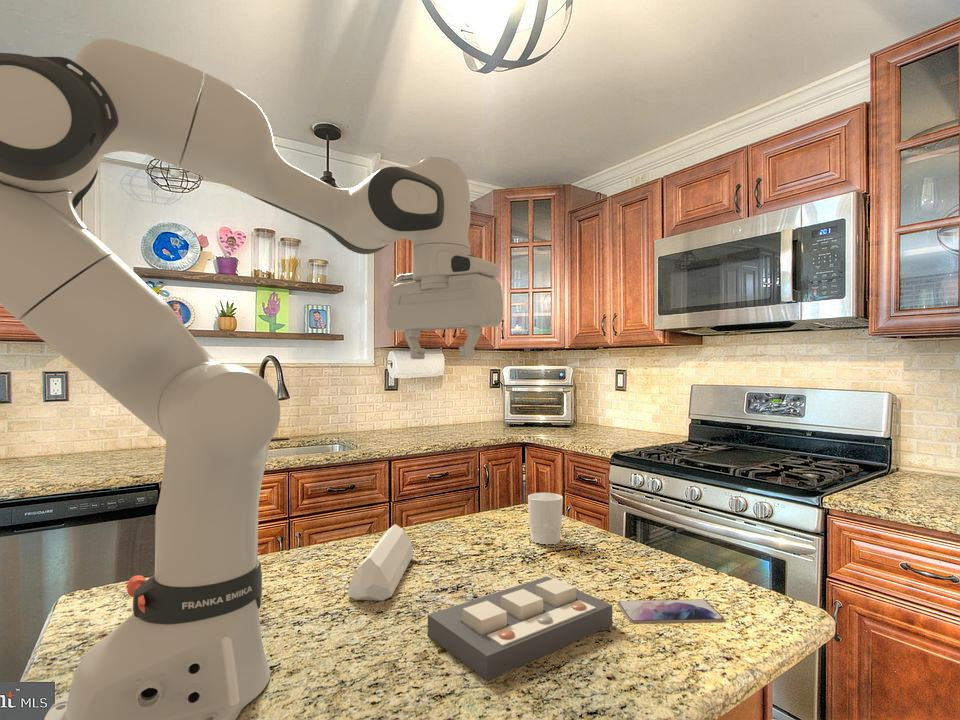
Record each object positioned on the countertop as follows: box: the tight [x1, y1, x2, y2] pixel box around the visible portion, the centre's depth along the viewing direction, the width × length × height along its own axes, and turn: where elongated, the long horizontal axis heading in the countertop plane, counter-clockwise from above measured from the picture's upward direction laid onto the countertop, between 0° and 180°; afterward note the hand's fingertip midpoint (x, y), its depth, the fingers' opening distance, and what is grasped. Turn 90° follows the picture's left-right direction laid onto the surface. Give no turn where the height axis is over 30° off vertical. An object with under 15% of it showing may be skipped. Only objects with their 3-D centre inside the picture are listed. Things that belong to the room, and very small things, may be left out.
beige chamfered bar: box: [347, 524, 414, 601], centre depth 98 cm, size 7×7×24 cm
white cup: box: [527, 492, 564, 545], centre depth 120 cm, size 8×8×10 cm
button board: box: [427, 576, 613, 681], centre depth 78 cm, size 24×14×3 cm, turn 127°
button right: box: [536, 578, 577, 607], centre depth 82 cm, size 4×4×3 cm
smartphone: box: [617, 598, 725, 624], centre depth 84 cm, size 7×1×15 cm
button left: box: [463, 601, 507, 635], centre depth 74 cm, size 4×4×3 cm
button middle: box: [501, 589, 543, 621], centre depth 78 cm, size 4×4×3 cm
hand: (441, 359), depth 81 cm, fingers open, 8 cm apart
